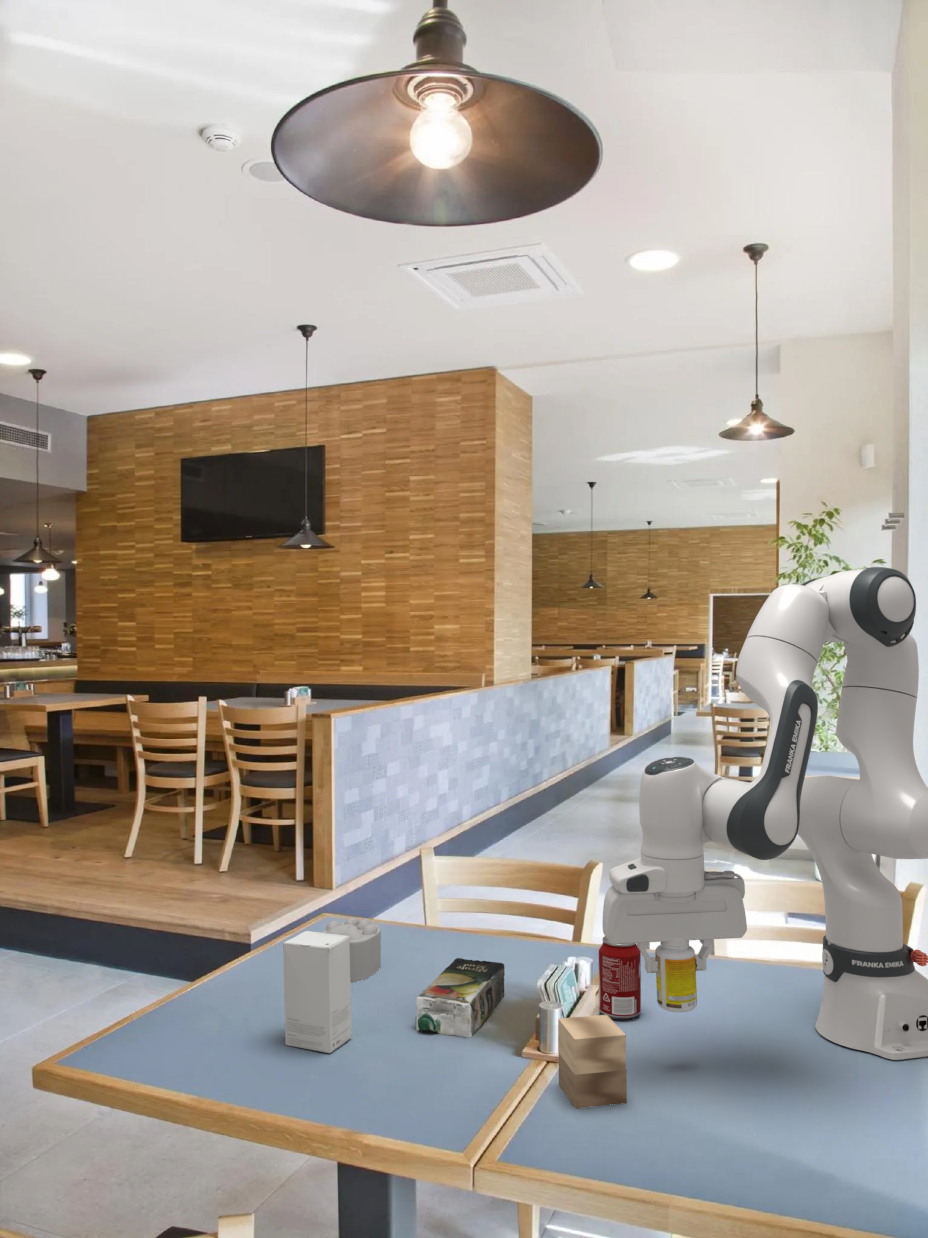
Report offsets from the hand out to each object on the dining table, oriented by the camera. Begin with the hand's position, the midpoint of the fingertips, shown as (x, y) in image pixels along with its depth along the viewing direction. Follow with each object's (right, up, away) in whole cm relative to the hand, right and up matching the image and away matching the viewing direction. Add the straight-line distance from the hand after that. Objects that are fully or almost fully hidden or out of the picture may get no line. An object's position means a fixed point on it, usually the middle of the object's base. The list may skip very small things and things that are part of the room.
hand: (675, 970), depth 134 cm
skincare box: (-52, -14, +7) cm, 55 cm away
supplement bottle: (0, -5, 0) cm, 5 cm away
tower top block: (-13, -9, -8) cm, 18 cm away
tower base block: (-13, -13, -8) cm, 21 cm away
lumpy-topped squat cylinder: (-51, -15, +40) cm, 67 cm away
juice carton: (-31, -15, +20) cm, 39 cm away
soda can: (-5, -14, +19) cm, 24 cm away
